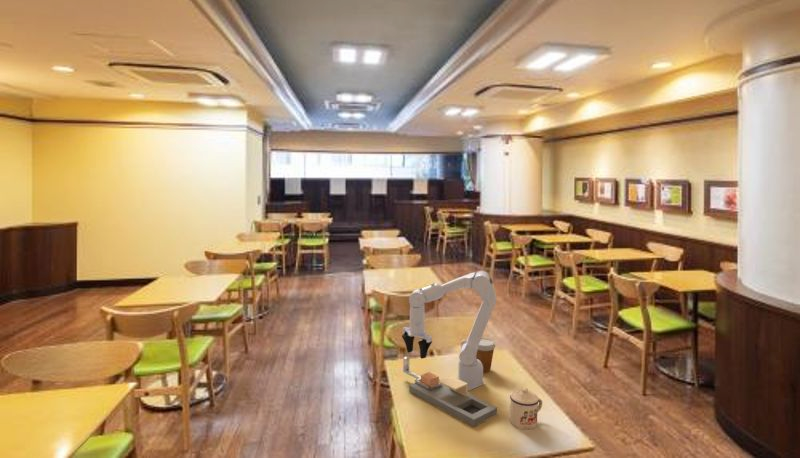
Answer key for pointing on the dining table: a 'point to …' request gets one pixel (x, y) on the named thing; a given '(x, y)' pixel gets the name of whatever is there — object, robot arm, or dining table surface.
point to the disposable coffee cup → (485, 353)
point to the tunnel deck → (456, 400)
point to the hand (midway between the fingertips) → (416, 354)
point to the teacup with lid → (524, 408)
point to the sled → (418, 378)
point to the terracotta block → (429, 378)
